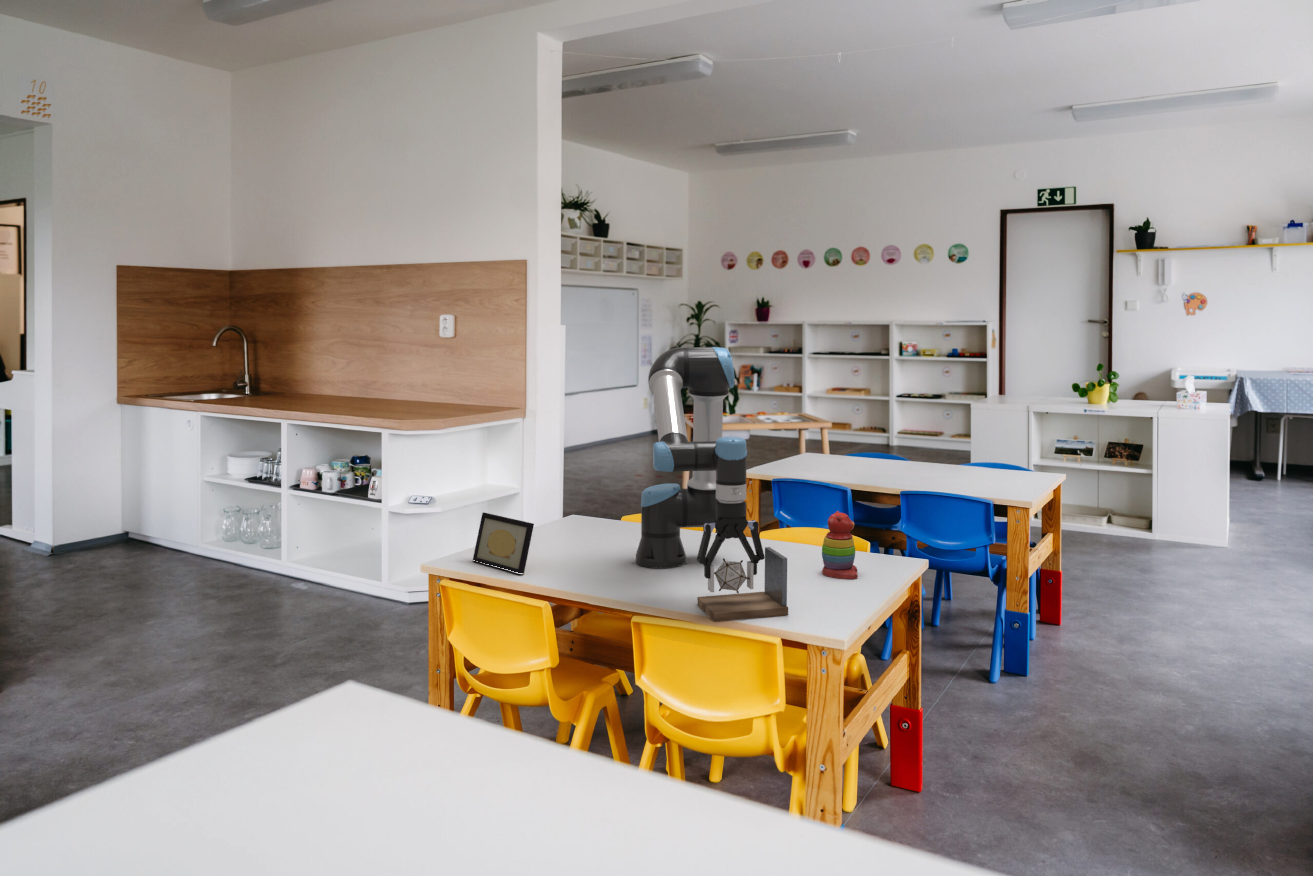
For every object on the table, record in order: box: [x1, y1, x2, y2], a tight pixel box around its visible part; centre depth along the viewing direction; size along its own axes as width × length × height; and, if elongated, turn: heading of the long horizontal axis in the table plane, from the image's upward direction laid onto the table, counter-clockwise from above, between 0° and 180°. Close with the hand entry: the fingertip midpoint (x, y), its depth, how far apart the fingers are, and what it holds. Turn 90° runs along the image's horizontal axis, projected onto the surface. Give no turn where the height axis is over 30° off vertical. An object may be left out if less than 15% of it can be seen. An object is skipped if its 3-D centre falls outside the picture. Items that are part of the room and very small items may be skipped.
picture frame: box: [472, 512, 535, 574], centre depth 268 cm, size 23×9×15 cm, turn 47°
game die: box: [714, 557, 750, 594], centre depth 223 cm, size 9×8×10 cm
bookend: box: [764, 546, 788, 607], centre depth 226 cm, size 12×1×12 cm, turn 14°
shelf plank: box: [696, 591, 789, 623], centre depth 225 cm, size 14×19×2 cm
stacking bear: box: [821, 510, 859, 580], centre depth 256 cm, size 11×10×18 cm
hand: (730, 589), depth 224 cm, fingers closed on game die, 9 cm apart
